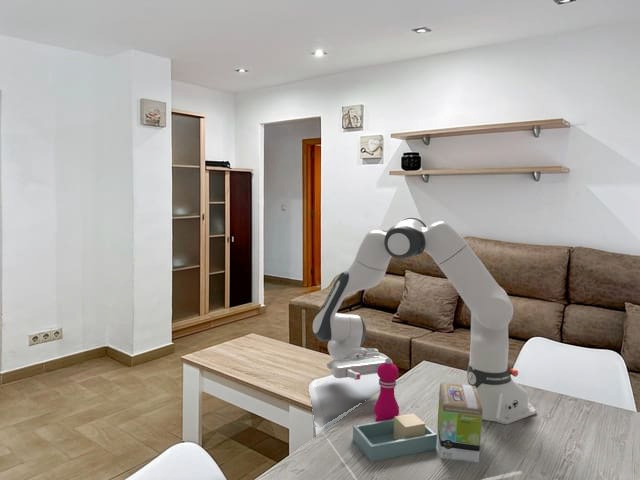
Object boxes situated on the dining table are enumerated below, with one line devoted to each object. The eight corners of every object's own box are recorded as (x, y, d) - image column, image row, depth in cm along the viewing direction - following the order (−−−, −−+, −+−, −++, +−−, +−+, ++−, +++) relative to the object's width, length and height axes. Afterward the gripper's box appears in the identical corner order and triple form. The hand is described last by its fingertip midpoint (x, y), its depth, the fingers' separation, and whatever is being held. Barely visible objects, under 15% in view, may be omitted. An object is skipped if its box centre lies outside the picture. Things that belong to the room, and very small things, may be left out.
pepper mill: (372, 418, 141) (374, 353, 139) (396, 419, 141) (399, 354, 139) (374, 430, 134) (376, 362, 132) (400, 431, 133) (402, 363, 131)
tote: (414, 430, 134) (414, 415, 134) (436, 450, 124) (437, 434, 123) (352, 441, 128) (353, 425, 127) (370, 464, 117) (371, 446, 117)
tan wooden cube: (412, 434, 131) (413, 413, 130) (424, 445, 125) (425, 423, 125) (393, 437, 129) (394, 416, 128) (404, 448, 123) (405, 427, 123)
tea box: (480, 465, 118) (483, 408, 116) (438, 460, 120) (441, 404, 118) (473, 435, 132) (476, 384, 131) (436, 430, 134) (438, 380, 133)
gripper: (324, 354, 155) (340, 369, 142) (380, 348, 162) (401, 361, 149) (324, 372, 155) (340, 389, 142) (380, 365, 162) (400, 381, 149)
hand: (372, 375), depth 146 cm, fingers open, 8 cm apart
